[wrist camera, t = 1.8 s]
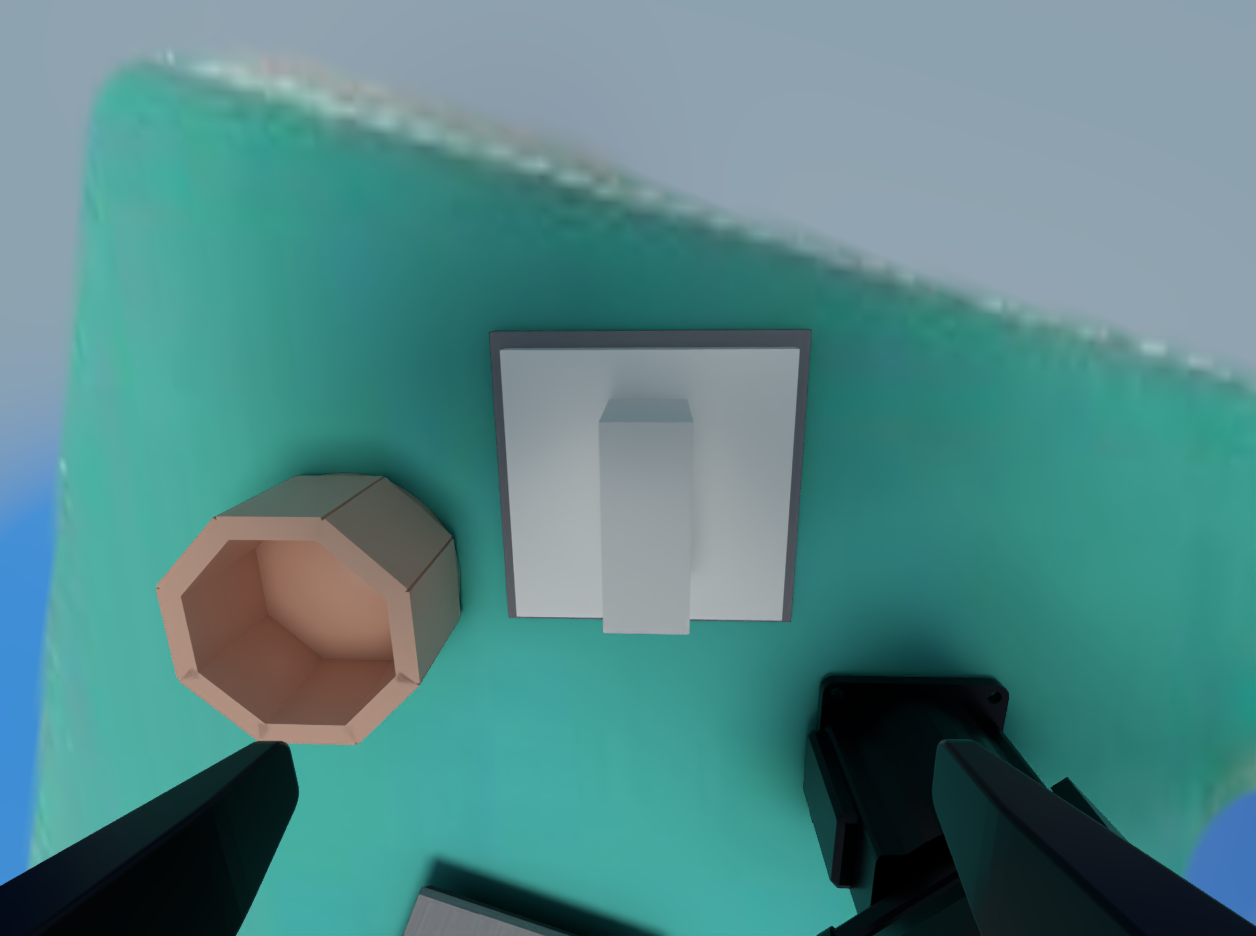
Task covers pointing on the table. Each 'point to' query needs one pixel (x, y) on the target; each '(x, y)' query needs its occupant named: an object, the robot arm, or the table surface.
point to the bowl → (313, 607)
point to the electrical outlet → (469, 918)
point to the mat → (655, 339)
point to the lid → (649, 482)
